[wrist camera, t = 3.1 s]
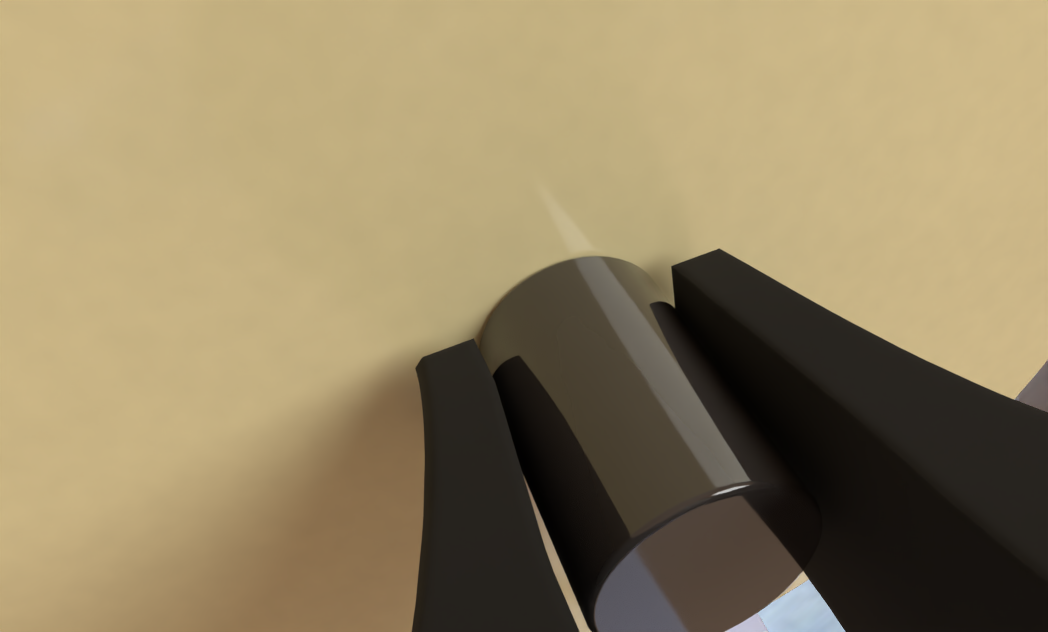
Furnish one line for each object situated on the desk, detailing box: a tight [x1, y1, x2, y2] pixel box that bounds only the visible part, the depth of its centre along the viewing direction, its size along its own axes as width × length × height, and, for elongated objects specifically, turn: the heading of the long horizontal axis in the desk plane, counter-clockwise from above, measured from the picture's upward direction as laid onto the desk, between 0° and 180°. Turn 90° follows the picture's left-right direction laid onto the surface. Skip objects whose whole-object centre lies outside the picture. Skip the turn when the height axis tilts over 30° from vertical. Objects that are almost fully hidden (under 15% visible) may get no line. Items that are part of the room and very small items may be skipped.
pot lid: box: [0, 0, 1048, 632], centre depth 10 cm, size 18×18×5 cm
